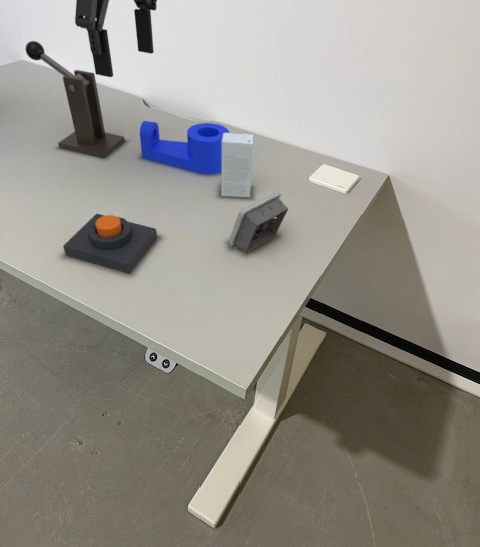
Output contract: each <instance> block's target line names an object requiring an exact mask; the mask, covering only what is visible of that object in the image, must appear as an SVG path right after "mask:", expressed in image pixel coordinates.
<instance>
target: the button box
mask: <svg viewBox="0 0 480 547" xmlns="http://www.w3.org/2000/svg"><path fill="white" fill-rule="evenodd" d="M102 216H106V215H105V214H100V213H95V214H94V215H93V216H92V217H91V218H90V219H89V220H88V221H87V222H86V223H85V224H84V225H83V226H82V227H80V229H79V230H78V231H76V233H75V234H74V235H72V236H71V238H70V239H69V240H68V241H66V242H65V243H64V244H63V245H62V247H63V250H64V252H65V253H64V254H65V256H66V257H70V258H72V259H77V260H79V261H83V262H87V263H89V264H94V265H97V266H101V267H105V268H109V269H112V270H115V271H119V272H123V273H126V274H131V272H133V270H134V268H135V267H136V266H137V265H138V264H139V262H140V261H141V260H142V258H143V257H144V256H145V255H146V253H147V252H148V251H149V250H150V248H151V247H152V246H153V245H154V243H155V242H156V240H158V235H157V228H155V227H152V226H151V227H150V226H148V225H147V226H146V225H143V224H139V223H136V222H131V221H129V220H127V219H126V218H123V217H120V216H117V217H118V218H119V219H120V221H121V227H122V231H121V233H120V234H118V235H116V236H113V237H102V236H100V235H99V234H98V233H97V228H96V221H97V219H99V218H100V217H102Z"/></svg>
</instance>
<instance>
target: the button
mask: <svg viewBox="0 0 480 547" xmlns="http://www.w3.org/2000/svg"><path fill="white" fill-rule="evenodd" d="M118 217H119V216H116V215H114V214H108V215H107V214H106V215H105V216H102V217H100V218H99V219H97V221H96V228H97V233H98V234H99V235H100V236H102V237H113V236H116V235H118V234H120V233H121V231H122V227H121V221H120V219H119V218H118Z"/></svg>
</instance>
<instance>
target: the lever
mask: <svg viewBox="0 0 480 547" xmlns="http://www.w3.org/2000/svg"><path fill="white" fill-rule="evenodd" d="M25 53H26V55H27V56H28V57H29V58H30V59H31V60H33V61H41V60H42V61H43V62H44V63H45V64H46V65H48V66H49V67H51V68H52V69H53V70H55V71H56V72H58V73H59V74H60V75H62V77H64V76H70V77H76V78H81V79H84V84H85V89H86V91H88V87H89V84H90V81H89V80H87V79H86V78H85V77H83V76H82V75H80V74H77V75H75V74H74V73H72V72H71V71H69V70H68V69H66V68H65V67H64V66H62V65H61V64H60V63H58V62H57V61H56V60H54V59H53V58H52V57H51V56H48V55H47V54H46V52H45V48H44V47H43V45H42V44H41V43H40V42H38V41H36V40H31V41H29V42H27V44H26V45H25Z"/></svg>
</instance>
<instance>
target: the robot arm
mask: <svg viewBox="0 0 480 547" xmlns="http://www.w3.org/2000/svg"><path fill="white" fill-rule="evenodd" d="M109 2H110V0H76V2H75V16H74V23H75V25H76V27H79V28H81V29H85V30H86V31H87V37H88V42H89V48H90V52H91V55H92V60H93V66H94V74H95V75H97V76H101V77H108V78H112V77H114V70H113V63H112V57H111V50H110V49H111V48H110V42H109V34H108V30H107V29H105V28H104V25H105V20H106V17H107V16H106V15H107V11H108V8H109ZM157 2H158V0H133V3H134V4H135V6H136V7H137V8H135V9H133V12H134V21H135V22H134V23H135V32H136V43H137V51H138V52H140V53H144V54H145V53H146V54H154V40H153V38H154V37H153V26H152V13H151V11H155V12H156V10H157Z"/></svg>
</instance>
